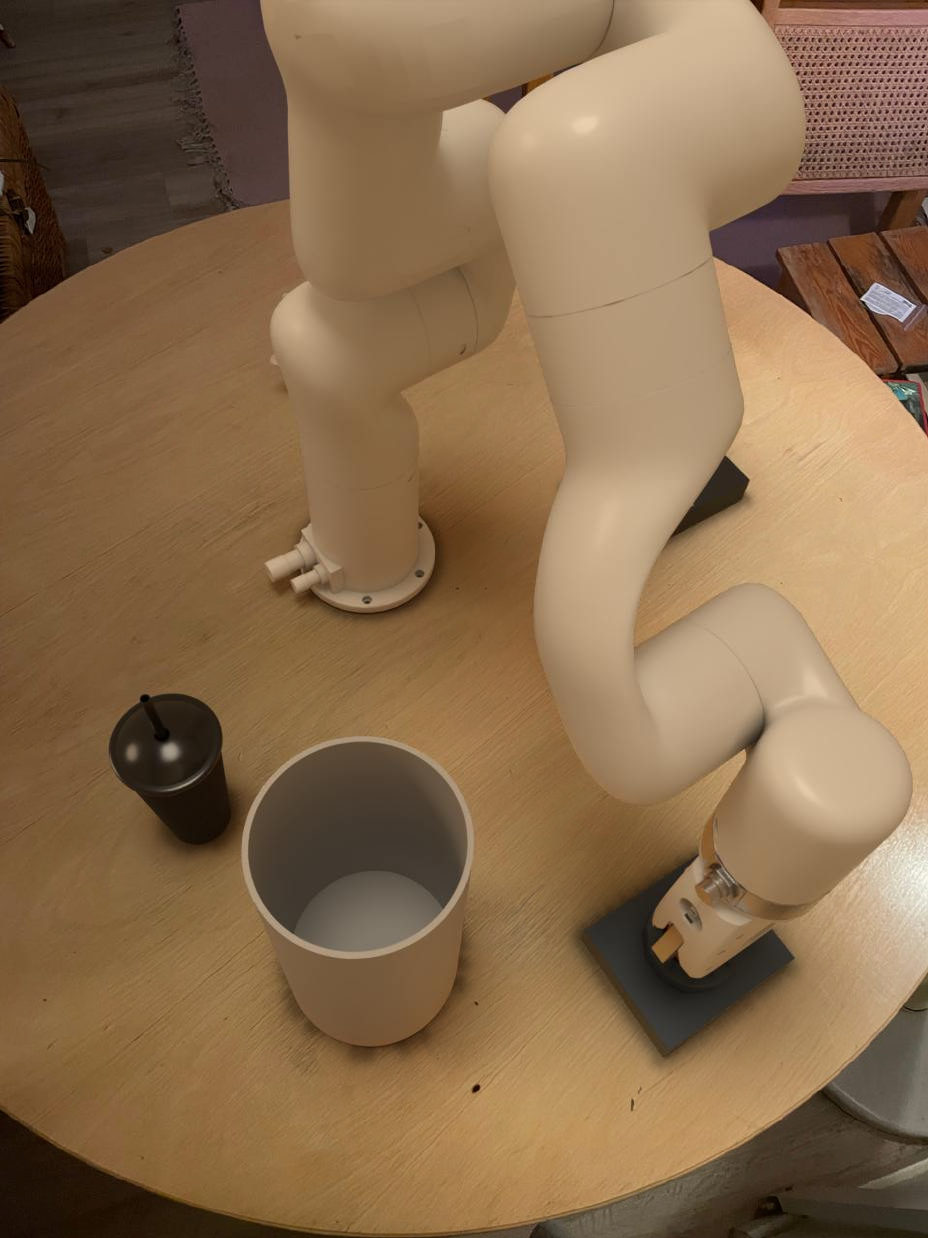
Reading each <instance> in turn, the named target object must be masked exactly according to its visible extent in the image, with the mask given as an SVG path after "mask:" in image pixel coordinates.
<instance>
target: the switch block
mask: <svg viewBox="0 0 928 1238" xmlns="http://www.w3.org/2000/svg"><path fill="white" fill-rule="evenodd" d="M698 856H699V853H697V854H695V855H694V856H693V857H691V858H689V859H688V860H687V861H685V862H684V863H682V864H681V865H679V866H678V867H676V868H675V869H673V870H672V871H670V872H669V873H667V874H666V875H665V876H663V877H661V878H660V879H658V880H657V881H655V882H654V883H652V884H650V885H649V886H648V887H646V888H645V889H643V890H642V891H640V892H639V893H638V894H636V895H634V896H633V897H631V898H630V899H629V900H627V901H626V902H624V903H623V904H621V905H619V906H618V907H616V908H615V909H614V910H612V911H611V912H609V913H608V914H606V915H605V916H603V917H602V918H600V919H599V920H597V921H596V922H594V923H593V924H591V925H590V926H588V927H586V928H585V929H584V930H583V932H582V934H581V937H580V940H581V941H582V943H583V944H584V946H585V947H586V948H587V950H588V951H589V952H590V955H591V956H592V957H593V959H594V960H595V961H596V963H597V964H598V966H599V967H600V969H601V970H602V972H603V974H604V975H605V976H606V977H607V979H608V980H609V982H610V983H611V985H612V986H613V987H614V989H615V991H616V992H617V993H618V995H619V996H620V998H621V999H622V1000H623V1003H625V1004H626V1006H627V1008H628V1009H629V1011H630V1012H631V1014H632V1015H633V1016H634V1018H635V1019H636V1021H637V1022H638V1024H639V1025H640V1026H641V1028H642V1030H643V1031H644V1032H645V1034H646V1036H648V1038H649V1039H650V1041H651V1042H652V1044H653V1045H654V1047H655V1048H656V1049H657V1051H658V1052H659V1054H660V1056H661V1057H665V1056H667V1055H668V1054H669V1053H670V1052H672V1051H674V1049H676V1048H677V1047H679V1046H680V1045H681V1044H683V1043H684V1042H685V1041H687V1040H688V1039H689V1038H691V1037H692V1036H693V1035H694V1034H696V1033H698V1032H699V1031H700V1030H702V1029H703V1028H704V1027H705V1026H706V1025H708V1024H710V1023H711V1022H712V1021H714V1020H715V1019H716V1018H718V1017H719V1016H721V1015H722V1014H723V1013H724V1012H726V1011H727V1010H728V1009H730V1008H732V1006H734V1005H735V1004H737V1003H738V1002H739V1001H741V1000H742V999H743V998H745V997H746V996H748V995H749V994H750V993H751V992H753V991H754V990H755V989H757V988H758V987H759V986H761V985H762V984H764V983H765V982H766V981H768V980H769V979H770V978H772V977H773V976H774V975H776V974H778V972H780V971H781V970H783V969H784V968H785V967H786V966H788V965H789V964H790V963H791V962H793V961H794V960H795V959H796V957H795V956H794V955H793V953H792V952H791V951H790V950H789V948H788V947H787V946H786V945H785V943H784V942H783V941H782V939H780V937H779V936H778V934H777V933H776V932H775V930H774V928H772V929H771V930H769V931H768V932H767V933H765V934H764V935H763V936H761V937H760V938H758V939H757V940H756V941H754V942H753V943H751V944H750V945H749V946H747V947H746V948H745V949H743V950H742V951H740V952H739V953H738V954H736V955H735V956H733V957H732V958H730V959H729V960H728V961H726V962H725V963H723V964H722V965H721V966H719V967H718V968H716V969H715V970H713V971H712V972H710V973H709V974H707V975H705V976H704V977H702V978H693V977H690V976H689V975H688V974H687V973H686V972H685V970H684V969H683V968H682V967H681V965H680V964H679V963H677V962H676V961H675V960H674V958H673V957H672V958H671V959H669V960H668V961H666V962H665V963H662V962H661V961H660V959H659V958H658V956H657V955H656V954H655V952H654V951H653V950H652V946H653V945H654V944H655V943H656V942H657V941H658V940H659V939H660V938H661V937H662V936H663V935H664V932H665V929H666V927H667V926H668V924H667V926H666V927H665V928H663V929H662V928H657V927H656V926H654V927H653V924H652V919H653V914H654V912H655V910H656V908H657V906H658V904H659V903H660V901H661V900H662V899H663V897H664V896H665V895H666V893H667V892H668V891H669V890H670V888H671V887H672V886H673V885H674V883H675V882H676V881H677V880H678V879H679V877H680V876H681V875H682V874H683V873H684V871H685V869H686V868H687V867H689V866H690V865H691V864H692V863H693V862H694V860H695V859H696V858H697V857H698Z"/></svg>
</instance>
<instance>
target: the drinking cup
mask: <svg viewBox="0 0 928 1238" xmlns="http://www.w3.org/2000/svg"><path fill="white" fill-rule="evenodd" d="M222 729H223V728H222V726H221V722H220V720H219V718H218V716H217V714H216V713H215V712H214V711H213V709H212V708H211V707H210V706H209V705H208V704H207V703H205V702H203V701H202V700H200V699H199V698H196V697H194V696H190V695H188V694H184V693H177V692H176V693H174V692H172V693H161V694H157V695H153V696H150V695H149V694H147V693H144V694H141V695H140V696H139V702H137V703H136V704H135V705H133V706H132V707H130V708H129V709H128V710H126V712H125V713H124V714H123V715H122V716H121V718H119V720H118V721H117V723H116V724H115V726H114V728H113V731H112V732H111V735H110V739H109V743H108V759H109V763H110V767H111V768H112V771H113V773H114V774H115V776H116V778H117V779H118V780H119V782H121V783H122V785H124V786H125V787H127V788H129V789H130V790H132V791H133V792H135V793H136V794H137V795H138V796H139V797H140V799H141V800H142V801H143V802H144V803H145V804H146V805H147V806H148V807H149V808H150V809H151V810H152V812H153V813H154V814H155V815H156V816H157V817H158V818H159V819H160V820H161V822H162V823H163V824H164V825H165V826H166V827H167V829H169V830H170V832H171V833H172V834H173V835H174V836H175V837H176V838H177V839H178V840H180V841H181V842H183V843H185V844H189V845H204V844H208V843H210V842H212V841H214V840H216V839H217V838H218V837H220V836H222V834H223V833H224V832H225V830H226V828H227V827H228V825H229V823H230V820H231V815H232V810H231V804H230V797H229V789H228V784H227V778H226V777H227V776H226V772H225V765H224V759H223V744H224V734H223V730H222Z"/></svg>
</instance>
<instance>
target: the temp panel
mask: <svg viewBox="0 0 928 1238" xmlns="http://www.w3.org/2000/svg"><path fill="white" fill-rule="evenodd" d="M750 481H751V479H750V478H749V477H748V476H747V475H746V474H745V473H744V472H743V471H742V470H741V469H740V468H739V467H738V466H737V465H736V464H735V463H734V462H733V461H732V460H731V459H730V458H729V457H728V456H727V455H725V456H724V458H723V459H722V461H721V463H720V464H719V466H718V468H717V469H716V471H715V472H714V474H713V475H712V477H711V478H710V480H709V481H708V483H707V484H706V486H705V487H704V489H703V490H702V492H701V493H700V494H699V496H698V497H697V499H696V500H695V502H694V503H693V505H692V506H691V507H690V509H689V510H688V512H687V513H686V515H685V516H684V518H683V519H682V520H681V522H680V523H679V525H678V526H677V528H676V529H675V531H674V532H673V533H672V535H671V536H670V538H669V539H671V538H672V537H674V536H676V535H678V534H680V533H682V532H683V531H685V530H687V529H690V528H691V527H693V526H694V525H697V524H698V523H700V522H702V521H704V520H706V519H708V518H710V517H712V516H713V515H715V514H718V513H719V512H720V511H722V510H725V509H726V508H728V507H730V506H733V505H734V504H736V503H738V502H740V501H741V500H742V499H743V498H744V495H745V493H746V490H747V488H748V486H749V483H750Z"/></svg>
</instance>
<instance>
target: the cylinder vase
mask: <svg viewBox="0 0 928 1238" xmlns="http://www.w3.org/2000/svg"><path fill="white" fill-rule="evenodd" d="M473 825H474V824H473V820H472V815H471V812H470V809H469V807H468V804H467V802H466V800H465V798H464V795H463V793H462V791H461V790H460V788H459V787H458V785H457V783H456V782H455V781H454V779H453V778H452V777H451V776H450V773H448V772H447V771H446V769H444V768H443V767H442V766H441V765H440V764H439V763H437V761H436V760H434V759H433V758H431V756H429V755H427V754H426V753H424V752H423V751H421V750H419V749H417V748H415V747H413V746H411V745H409V744H406V743H404V742H401V741H397V740H394V739H391V738H385V737H379V736H370V735H354V736H345V737H339V738H334V739H330V740H327V741H324V742H321V743H317V744H316V745H313V746H311V747H308V748H306V749H304V750H303V751H301V752H299V753H297V754H296V755H294V756H293V757H291V758H290V759H289V760H287V761H286V762H284V763H283V765H281V766H280V767H279V768H278V769H276V770H275V771H274V773H273V774H272V775H271V776H270V777H269V778H268V779H267V781H266V782H265V783H264V784H263V786H262V787H261V789H260V790H259V792H258V793H257V795H256V797H255V799H254V801H252V804H251V806H250V808H249V811H248V813H247V816H246V819H245V822H244V828H243V830H242V831H243V832H242V837H241V851H240V853H241V865H242V872H243V877H244V880H245V884H246V887H247V890H248V892H249V894H250V896H251V899H252V901H253V904H254V906H255V908H256V910H257V913H258V915H259V917H260V920H261V922H262V925H263V927H264V930H265V932H266V934H267V936H268V939H269V941H270V943H271V945H272V948H273V950H274V952H275V955H276V957H277V959H278V962H279V964H280V966H281V969H282V971H283V974H284V976H285V978H286V980H287V982H288V985H289V988H290V990H291V992H292V995H293V996H294V999H295V1001H296V1003H297V1005H298V1007H299V1008H300V1010H301V1011H302V1013H303V1014H304V1015H305V1017H306V1018H307V1019H308V1020H309V1021H310V1022H311V1024H312V1025H314V1026H315V1028H317V1029H318V1030H320V1031H321V1032H323V1033H324V1034H326V1035H328V1036H329V1037H331V1038H332V1039H335V1040H337V1041H339V1042H342V1043H345V1044H348V1045H353V1046H359V1047H380V1046H381V1047H382V1046H387V1045H391V1044H394V1043H398V1042H400V1041H403V1040H406V1039H408V1038H409V1037H411V1036H413V1035H415V1034H417V1033H418V1032H419V1031H421V1030H422V1029H423V1028H425V1027H426V1026H428V1024H429V1023H430V1022H431V1021H433V1020H434V1018H435V1017H436V1016H437V1015H438V1014H439V1012H440V1011H441V1010H442V1008H443V1007H444V1005H445V1004H446V1002H447V1001H448V999H449V997H450V994H451V992H452V989H453V987H454V983H455V980H456V977H457V972H458V966H459V958H460V952H461V946H462V945H461V943H462V937H463V930H464V923H465V916H466V910H467V904H468V903H467V902H468V896H469V888H470V881H471V874H472V867H473V862H474V861H473V860H474V852H475V835H474V827H473Z"/></svg>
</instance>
